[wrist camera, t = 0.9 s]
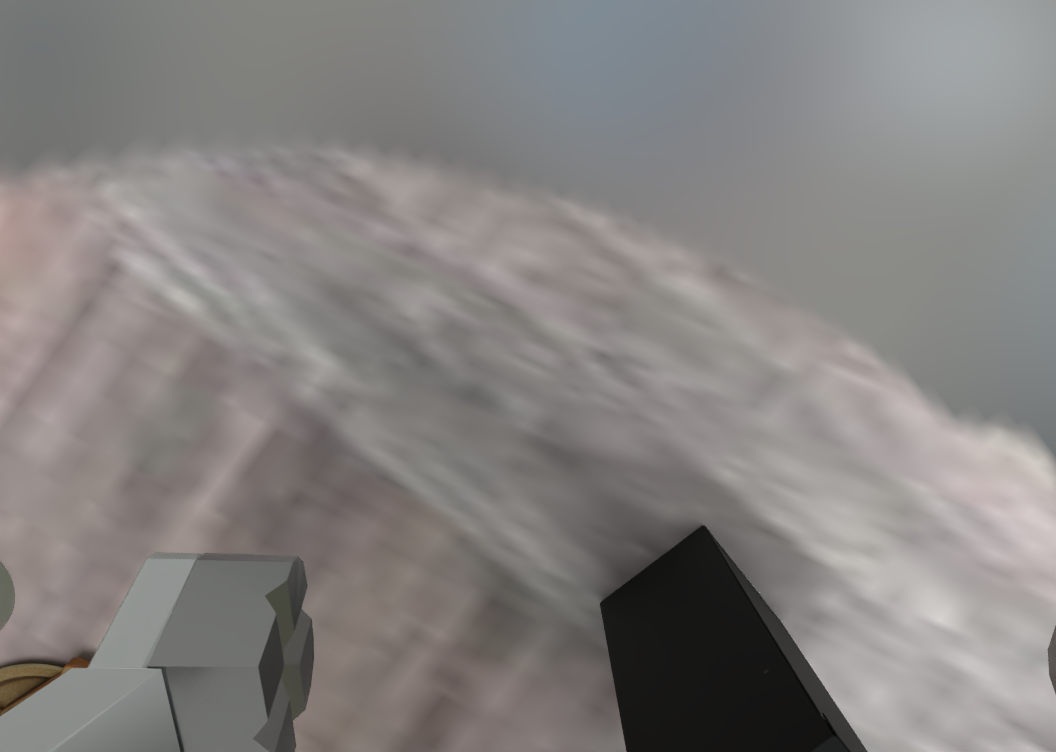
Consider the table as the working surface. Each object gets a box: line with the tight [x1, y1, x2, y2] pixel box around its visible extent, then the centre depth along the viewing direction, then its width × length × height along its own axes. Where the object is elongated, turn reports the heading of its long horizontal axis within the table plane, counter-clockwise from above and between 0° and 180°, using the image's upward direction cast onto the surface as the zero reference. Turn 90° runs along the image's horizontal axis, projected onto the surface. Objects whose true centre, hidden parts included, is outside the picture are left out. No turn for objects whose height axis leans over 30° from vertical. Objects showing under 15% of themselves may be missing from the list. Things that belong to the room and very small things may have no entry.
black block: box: [600, 526, 867, 752], centre depth 42 cm, size 8×8×28 cm
